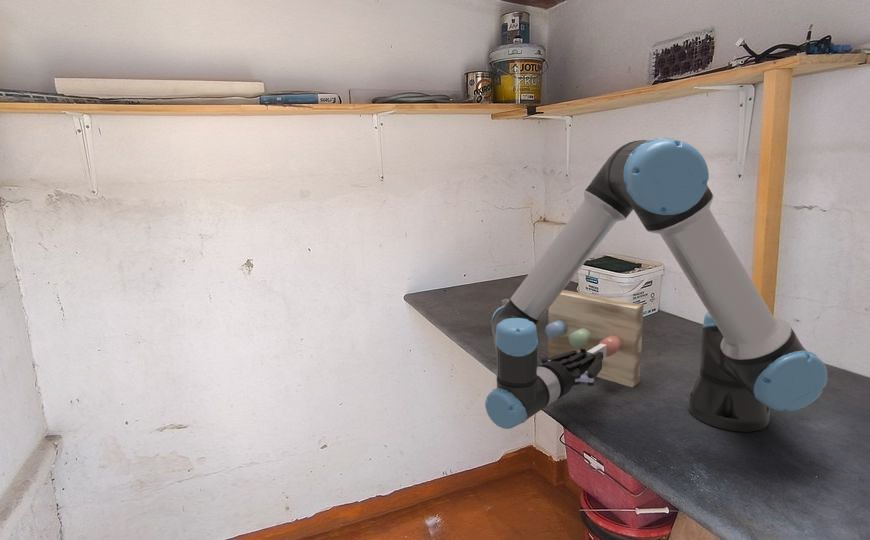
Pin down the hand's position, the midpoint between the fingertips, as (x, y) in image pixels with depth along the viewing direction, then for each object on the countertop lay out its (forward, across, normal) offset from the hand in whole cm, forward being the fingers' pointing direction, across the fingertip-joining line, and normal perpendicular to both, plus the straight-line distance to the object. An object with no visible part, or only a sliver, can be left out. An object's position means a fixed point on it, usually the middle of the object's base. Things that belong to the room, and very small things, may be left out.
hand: (603, 349), depth 118 cm
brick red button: (+3, 0, -2) cm, 3 cm away
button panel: (+9, -8, -11) cm, 16 cm away
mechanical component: (+20, -41, -11) cm, 47 cm away
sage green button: (+3, -8, -2) cm, 9 cm away
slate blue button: (+5, -16, -2) cm, 17 cm away
